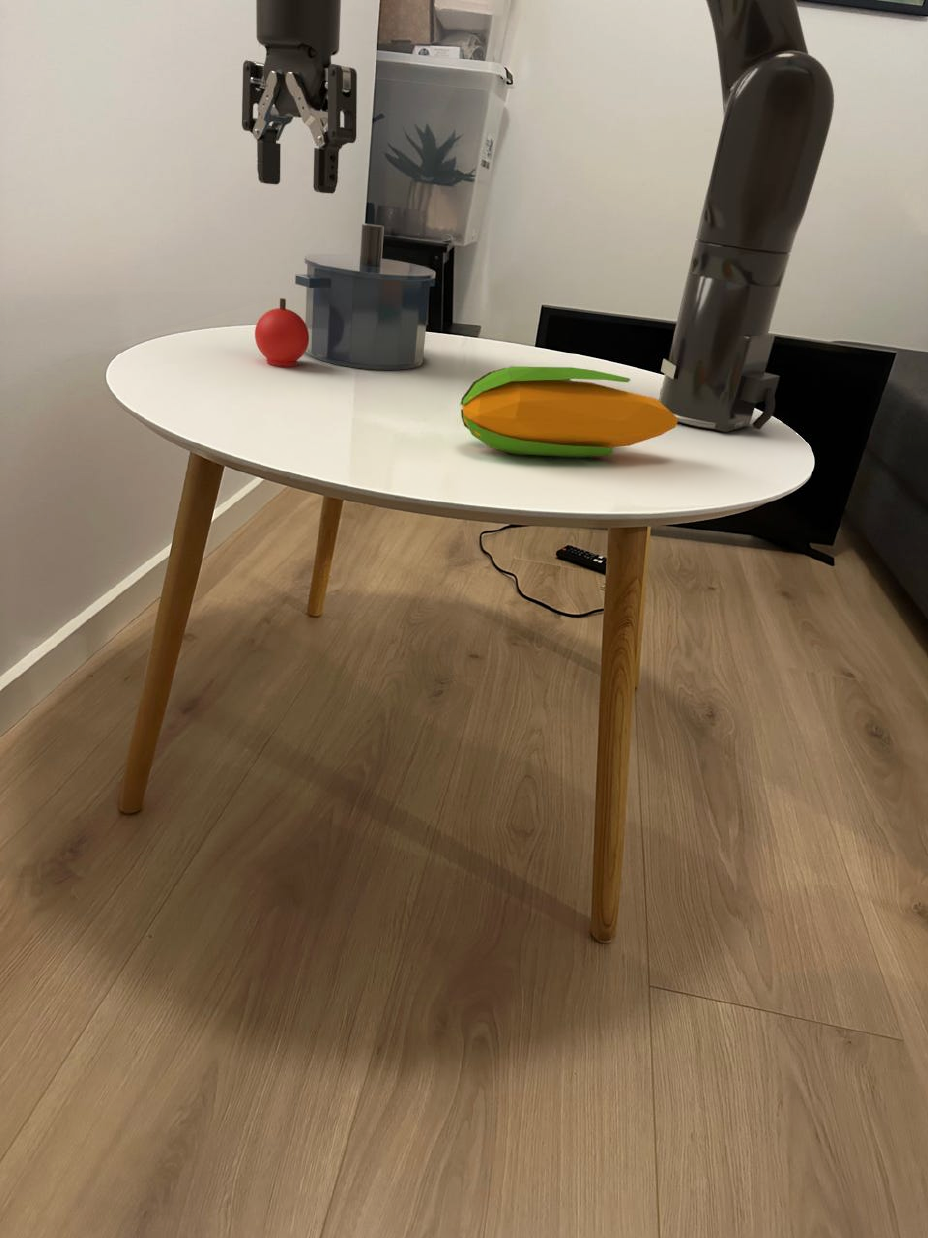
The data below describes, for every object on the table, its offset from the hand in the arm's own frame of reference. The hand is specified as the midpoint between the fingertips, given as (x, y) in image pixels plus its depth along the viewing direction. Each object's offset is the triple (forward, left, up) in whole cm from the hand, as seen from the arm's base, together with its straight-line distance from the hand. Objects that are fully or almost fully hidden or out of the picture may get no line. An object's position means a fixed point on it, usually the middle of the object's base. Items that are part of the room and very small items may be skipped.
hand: (296, 187), depth 85 cm
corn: (-35, -3, -17) cm, 39 cm away
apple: (0, +1, -17) cm, 17 cm away
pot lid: (0, -11, -8) cm, 13 cm away
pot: (0, -11, -17) cm, 20 cm away
